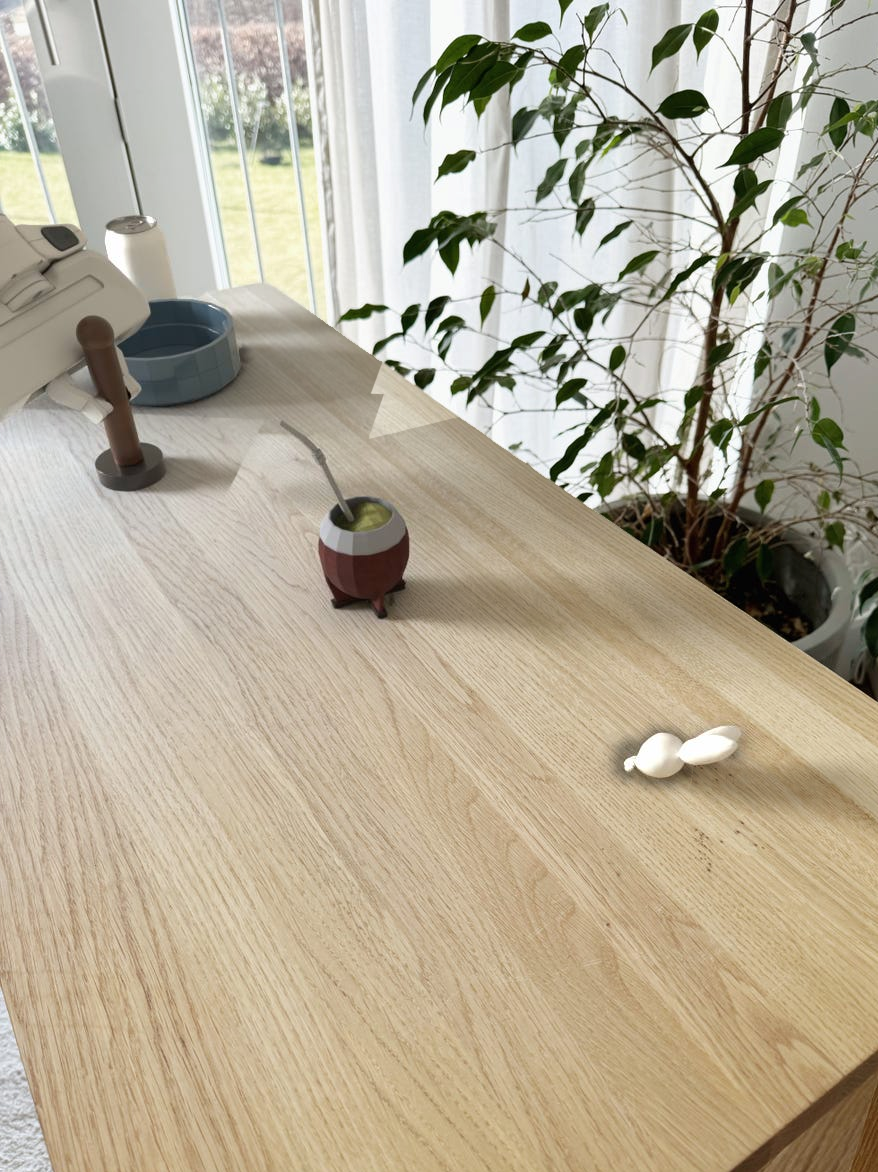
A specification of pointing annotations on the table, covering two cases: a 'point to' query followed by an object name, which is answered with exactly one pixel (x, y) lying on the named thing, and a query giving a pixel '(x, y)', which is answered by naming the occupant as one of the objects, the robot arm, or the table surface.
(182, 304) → the bowl
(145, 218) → the can
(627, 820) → the table surface
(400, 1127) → the table surface
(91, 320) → the wooden handled press
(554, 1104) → the table surface
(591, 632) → the table surface
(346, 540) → the mate gourd
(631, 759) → the rabbit figurine
